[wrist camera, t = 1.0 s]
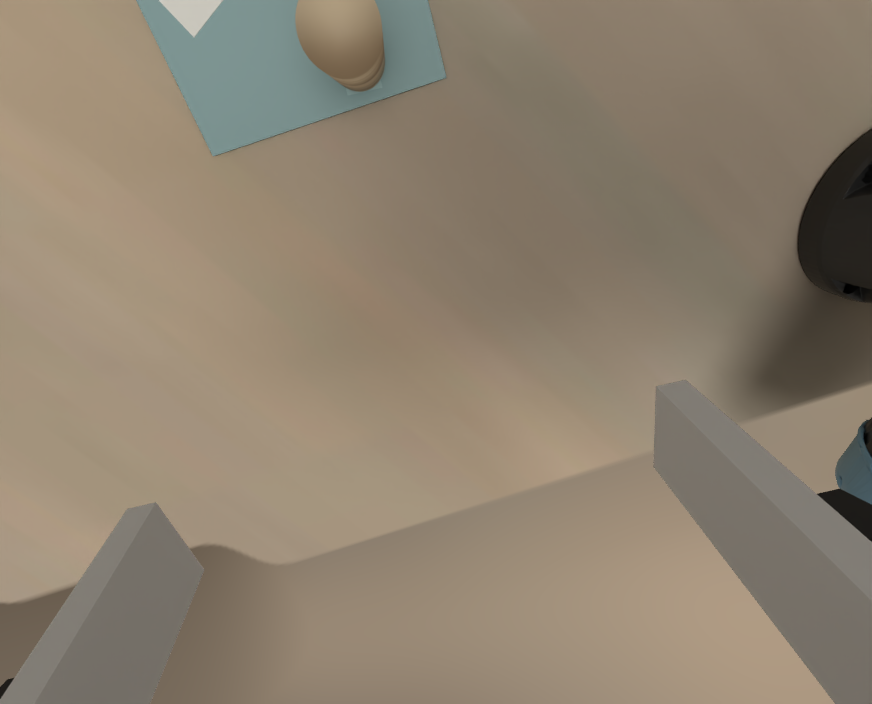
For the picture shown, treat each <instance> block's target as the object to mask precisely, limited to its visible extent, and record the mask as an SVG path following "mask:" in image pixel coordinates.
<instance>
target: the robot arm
mask: <svg viewBox="0 0 872 704" xmlns="http://www.w3.org/2000/svg"><path fill="white" fill-rule="evenodd" d="M799 256H800V261H801V264H802V267H803V269H804V271H805V273H806V275H807V276H808V277H809V279H810V280H811V281H812V282H813V283H814V284H815V285H817V286H818V287H820V288H821V289H823V290H826V291H828V292H831V293H833V294H836V295H838V296H841V297H844V298H846V299H850V300H854V301H859V302H867V303H872V130H871V131H869V132H868V133H867V134H865V135H864V136H862V137H861V138H860V139H859V140H857V141H856V142H855V143H854V144H853V145H852V146H851V147H849V148H848V149H847V150H846V151H845V152H844V153H843V154H842V155H841V156H840V157H839V159H838V160H837V161H836V162H835V163H834V164H833V165H832V167H831V168H830V169H829V170H828V172H827V173H826V174H825V176H824V177H823V179H822V180H821V182H820V183H819V185H818V186H817V188H816V190H815V192H814V193H813V195H812V197H811V199H810V201H809V203H808V206H807V208H806V211H805V214H804V217H803V220H802V224H801V228H800V234H799ZM654 468H655V469H656V471H657V472H658V473H659V474H660V476H661V477H662V478H663V480H664V481H665V482H666V484H667V485H668V486H669V487H670V489H671V490H672V491H673V493H674V494H675V495H676V497H677V498H678V499H679V501H680V502H681V503H682V504H683V506H684V507H685V508H686V510H687V511H688V512H689V514H690V515H691V516H692V518H693V519H694V520H695V522H696V523H697V524H698V525H699V527H700V528H701V529H702V530H703V532H704V533H705V535H706V536H707V537H708V538H709V540H710V541H711V542H712V544H713V545H714V546H715V548H716V549H717V550H718V552H719V553H720V554H721V555H722V557H723V558H724V559H725V561H726V562H727V563H728V565H729V566H730V567H731V568H732V570H733V571H734V572H735V574H736V575H737V576H738V578H739V579H740V580H741V581H742V583H743V584H744V585H745V587H746V588H747V589H748V591H749V592H750V593H751V595H752V596H753V597H754V598H755V600H756V601H757V602H758V604H759V605H760V606H761V607H762V609H763V610H764V611H765V613H766V614H767V615H768V617H769V618H770V619H771V621H772V622H773V623H774V625H775V626H776V627H777V628H778V630H779V631H780V632H781V634H782V635H783V636H784V637H785V639H786V640H787V642H788V643H789V644H790V645H791V647H792V648H793V649H794V651H795V652H796V653H797V654H798V656H799V657H800V658H801V660H802V661H803V662H804V664H805V665H806V666H807V668H808V669H809V670H810V672H811V673H812V674H813V675H814V677H815V678H816V679H817V681H818V682H819V683H820V684H821V686H822V687H823V688H824V690H825V691H826V692H827V694H828V695H829V696H830V698H831V699H832V700H833V701H834V703H835V704H872V418H871V419H870V420H866V421H865V422H863V423H862V425H861V426H860V427H859V429H858V434H857V436H856V437H855V438H854V440H853V441H852V443H851V444H850V445H849V447H848V448H847V449H846V451H845V452H844V453H843V455H842V456H841V457H840V459H839V460H838V462H837V466H836V470H835V475H836V480H837V484H838V486H839V488H840V489H837V490H832V491H828V492H823V493H819V494H816V493H815V492H814V491H813V490H811V489H810V488H809V487H808V486H807V485H806V484H804V483H803V482H802V481H801V480H800V479H799V478H798V477H797V476H795V475H794V474H793V473H792V472H791V471H790V470H788V469H787V468H786V467H785V466H784V465H783V464H782V463H780V462H779V461H778V460H777V459H776V458H775V457H774V456H772V455H771V454H770V453H769V452H768V451H767V450H766V449H764V448H763V447H762V446H761V445H760V444H759V443H757V442H756V441H755V440H754V439H753V438H752V437H751V436H750V435H748V434H747V433H746V432H745V431H744V430H743V429H741V428H740V427H739V426H738V425H737V424H736V423H735V422H733V421H732V420H731V419H730V418H729V417H728V416H727V415H725V414H724V413H723V412H722V411H721V410H720V409H719V408H717V407H716V406H715V405H714V404H713V403H712V402H711V401H709V400H708V399H707V398H706V397H705V396H704V395H703V394H701V393H700V392H699V391H698V390H697V389H696V388H695V387H693V386H692V385H691V384H690V383H689V382H688V381H686V380H682V381H678V382H674V383H669V384H665V385H661V386H656V403H655V435H654ZM203 572H204V569H203V567H202V566H201V564H200V563H199V562H198V560H197V559H196V557H195V556H194V555H193V553H192V552H191V551H190V549H189V548H188V546H187V545H186V543H185V542H184V541H183V539H182V538H181V537H180V535H179V534H178V532H177V531H176V530H175V528H174V527H173V525H172V524H171V523H170V521H169V520H168V518H167V517H166V516H165V514H164V513H163V511H162V510H161V509H160V507H159V506H158V505H157V503H156V502H155V503H151V504H147V505H142V506H138V507H134V508H129V509H127V510H126V512H125V513H124V515H123V516H122V518H121V519H120V521H119V522H118V524H117V525H116V527H115V528H114V530H113V531H112V533H111V534H110V536H109V537H108V539H107V540H106V542H105V543H104V545H103V546H102V548H101V549H100V551H99V552H98V554H97V555H96V557H95V558H94V560H93V561H92V563H91V564H90V566H89V567H88V568H87V570H86V571H85V573H84V574H83V576H82V577H81V579H80V580H79V582H78V583H77V585H76V586H75V588H74V589H73V591H72V593H71V594H70V596H69V597H68V598H67V600H66V602H65V603H64V604H63V606H62V608H61V609H60V610H59V612H58V613H57V615H56V617H55V618H54V619H53V621H52V623H51V624H50V626H49V627H48V628H47V630H46V631H45V633H44V634H43V636H42V638H41V639H40V640H39V642H38V643H37V645H36V646H35V648H34V649H33V651H32V652H31V654H30V655H29V657H28V658H27V660H26V661H25V663H24V664H23V666H22V667H21V669H20V670H19V672H18V674H17V675H16V677H15V678H12V679H8V680H7V681H6V682H5V683H4V684H3V685H2V686H1V687H0V704H150V702H151V700H152V697H153V695H154V692H155V690H156V687H157V685H158V683H159V680H160V677H161V675H162V673H163V670H164V668H165V665H166V663H167V660H168V658H169V655H170V653H171V650H172V648H173V646H174V643H175V640H176V638H177V636H178V633H179V631H180V628H181V626H182V623H183V621H184V618H185V616H186V614H187V611H188V608H189V606H190V603H191V601H192V599H193V596H194V594H195V591H196V589H197V586H198V583H199V582H200V579H201V577H202V574H203Z"/></svg>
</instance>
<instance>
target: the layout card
mask: <svg viewBox="0 0 872 704" xmlns="http://www.w3.org/2000/svg"><path fill="white" fill-rule="evenodd" d="M136 1H137V3H138V5H139V7H140V9H141V11H142V13H143V15H144V17H145V19H146V21H147V23H148V25H149V27H150V29H151V31H152V33H153V35H154V37H155V39H156V41H157V44H158V46H159V48H160V50H161V52H162V54H163V56H164V58H165V60H166V62H167V64H168V66H169V68H170V70H171V72H172V74H173V76H174V78H175V80H176V82H177V84H178V86H179V88H180V90H181V92H182V94H183V96H184V98H185V100H186V102H187V105H188V107H189V109H190V111H191V113H192V115H193V117H194V119H195V121H196V123H197V125H198V127H199V129H200V131H201V133H202V135H203V137H204V139H205V141H206V143H207V145H208V147H209V149H210V151H211V153H212V155H213V156H216V155H219V154H222V153H225V152H228V151H231V150H234V149H237V148H240V147H243V146H246V145H249V144H252V143H255V142H257V141H260V140H263V139H266V138H269V137H272V136H275V135H278V134H281V133H284V132H287V131H290V130H293V129H296V128H299V127H302V126H305V125H308V124H311V123H314V122H317V121H320V120H323V119H326V118H329V117H332V116H335V115H338V114H341V113H343V112H346V111H349V110H352V109H355V108H358V107H361V106H364V105H367V104H370V103H373V102H376V101H379V100H382V99H385V98H388V97H391V96H394V95H397V94H400V93H403V92H406V91H409V90H412V89H415V88H418V87H421V86H424V85H427V84H429V83H432V82H435V81H438V80H441V79H444V78H446V74H445V70H444V66H443V61H442V57H441V53H440V49H439V45H438V40H437V36H436V32H435V28H434V24H433V20H432V15H431V11H430V7H429V3H428V0H375V2H376V4H377V7H378V9H379V13H380V16H381V22H382V31H383V42H384V53H385V68H384V72H383V75H382V77H381V79H380V81H379V82H378V83H377V84H376V85H375V86H374V87H373V88H371V89H369V90H367V91H363V92H356V91H352V90H349V89H347V88H346V87H344V86H343V85H341V84H340V83H338V82H337V81H336V80H334V79H333V78H332V77H330V76H329V75H327V74H326V73H325V72H323V71H322V70H321V69H319V68H318V67H317V66H316V65H314V64H313V63H312V61H311V60H310V59H309V58H308V57H307V55H306V54H305V52H304V50H303V48H302V46H301V44H300V42H299V39H298V35H297V31H296V24H295V15H296V7H297V3H298V0H136Z"/></svg>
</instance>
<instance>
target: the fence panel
mask: <svg viewBox="0 0 872 704" xmlns="http://www.w3.org/2000/svg"><path fill="white" fill-rule="evenodd" d="M295 24H296V31H297V35H298V39H299V42H300V44H301V46H302V48H303V50H304V52H305V54H306V55H307V57H308V58H309V59H310V60H311V61H312V63H313V64H314V65H316V66H317V67H318V68H319V69H321V70H322V71H323V72H325V73H326V74H327V75H329V76H330V77H332V78H333V79H334V80H336V81H337V82H338V83H340V84H341V85H343V86H344V87H346V88H347V89H349V90H352V91H356V92H363V91H367V90H369V89H371V88H373V87H374V86H375V85H376V84H377V83H378V82H379V81H380V79H381V77H382V75H383V72H384V68H385V53H384V42H383V31H382V22H381V16H380V13H379V9H378V7H377V4H376V2H375V0H298V3H297V7H296V15H295Z"/></svg>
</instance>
